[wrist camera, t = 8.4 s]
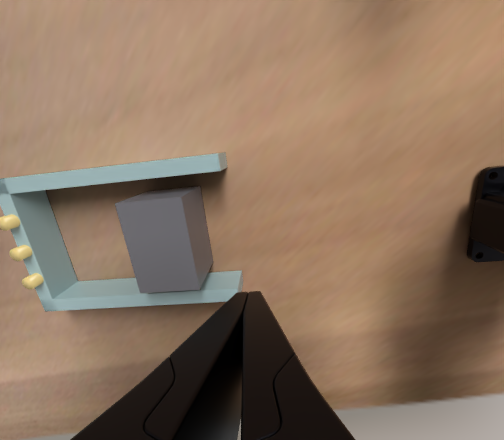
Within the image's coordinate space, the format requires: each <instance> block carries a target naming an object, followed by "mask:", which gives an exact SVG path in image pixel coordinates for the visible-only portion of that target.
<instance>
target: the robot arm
mask: <svg viewBox="0 0 504 440" xmlns="http://www.w3.org/2000/svg"><path fill="white" fill-rule="evenodd" d="M491 172H492V176H491V177H490V178H489V175H490V173H491ZM477 253H478V255H477V256H476V254H477ZM467 256H468V258H469V259H471V260H473V261H475V262H488V261H503V260H504V166H495V167H487V168H485V169H483V170H482V171H481V173H480V175H479V181H478V187H477V194H476V200H475V207H474V213H473V219H472V226H471V232H470V238H469V245H468V251H467ZM240 419H241V440H355V439H354V437H353V436H352V435H351V433H350V432H349V431H348V430H347V428H346V427H345V425H344V424H343V423H342V422H341V420H340V419H339V417H338V416H337V415H336V413H335V412H334V411H333V410H332V408H331V407H330V406H329V404H328V403H327V402H326V400H325V399H324V397H323V396H322V395H321V393H320V392H319V390H318V389H317V388H316V386H315V385H314V383H313V382H312V380H311V379H310V377H309V376H308V374H307V372H306V371H305V369H304V367H303V366H302V364H301V362H300V360H299V359H298V357H297V355H296V354H295V352H294V350H293V348H292V346H291V345H290V343H289V341H288V339H287V338H286V336H285V334H284V332H283V330H282V329H281V327H280V325H279V323H278V322H277V320H276V318H275V316H274V314H273V313H272V311H271V309H270V307H269V306H268V304H267V302H266V300H265V298H264V297H263V295H262V293H261V292H260V291H254V292H249V293H248V292H237V293H235V294H234V295H233V296H232V297H231V298H230V299H229V300H228V301H227V302H226V303H225V304H224V305H223V306H222V307H221V308H220V309H219V310H217V311H216V312H215V313H214V314H213V315H212V316H211V317H210V318H209V319H208V320H207V321H206V322H205V323H204V324H203V325H202V326H201V327H199V328H198V329H197V330H196V331H195V332H194V333H193V334H192V335H191V336H190V337H189V338H188V339H187V340H186V341H185V342H184V343H182V344H181V345H180V346H179V347H178V348H177V349H176V350H175V351H174V352H173V353H172V354H171V355H170V358H169V357H168V358H166V359H165V360H164V361H163V362H162V363H161V364H160V365H159V366H158V367H157V368H156V369H155V370H154V371H152V372H151V373H150V374H149V375H148V376H147V377H146V378H145V379H144V380H142V381H141V382H140V383H139V384H138V385H137V386H135V387H134V388H133V389H132V390H131V391H129V392H128V393H127V394H126V395H125V396H123V397H122V398H121V399H120V400H119V401H117V402H116V403H115V404H114V405H112V406H111V407H110V408H109V409H108V410H106V411H105V412H104V413H103V414H101V415H100V416H99V417H98V418H96V419H95V420H94V421H93V422H91V423H90V424H89V425H88V426H87V427H85V428H84V429H83V430H82V431H80V432H79V433H78V434H77V435H75V436H74V437H73V438H72V439H71V440H237V437H238V431H239V425H240Z"/></svg>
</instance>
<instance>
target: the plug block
mask: <svg viewBox="0 0 504 440" xmlns="http://www.w3.org/2000/svg"><path fill="white" fill-rule="evenodd" d="M115 206H116V210H117V213H118V217H119V220H120V224H121V227H122V231H123V234H124V238H125V242H126V245H127V249H128V252H129V256H130V259H131V263H132V266H133V270H134V273H135V277H136V281H137V284H138V288H139V291H140V293H151V292H169V291H186V290H200V288H201V286H202V284H203V282H204V280H205V278H206V276H207V274H208V272H209V270H210V267H211V265H212V263H213V257H212V251H211V245H210V240H209V234H208V228H207V222H206V216H205V211H204V205H203V199H202V193H201V187H200V186H195V187H185V188H176V189H166V190H156V191H147V192H144V193H142V194H139V195H136V196H134V197H131V198H128V199H126V200H123V201H120V202H118V203H115Z"/></svg>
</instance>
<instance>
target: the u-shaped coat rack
mask: <svg viewBox="0 0 504 440" xmlns="http://www.w3.org/2000/svg"><path fill="white" fill-rule="evenodd" d="M225 168H227V161H226V153H216V154H207V155H199V156H190V157H182V158H173V159H165V160H156V161H147V162H139V163H130V164H122V165H113V166H104V167H96V168H87V169H79V170H70V171H62V172H53V173H44V174H36V175H27V176H19V177H11V178H3V179H0V206H1V208H2V211H3V213H4V215H5V216H3V217H0V229H1V230H4V231H6V230H10V229H11V232H12V234H13V237H14V239H15V241H16V244H17V246H18V247H16V248H14V249H12V250H10V256H11V258H12V259H13V260H15V261H21V260H24V263H25V265H26V267H27V270H28V272H29V274H30V276H28V277H26V278H24V279H23V280H22V284H23V286H24V287H25V288H27V289H33V288H35V289H36V291H37V293H38V296H39V298H40V300H41V303H42V305H43V308H44V310H45V311H62V310H81V309H99V308H117V307H136V306H154V305H173V304H191V303H210V302H227V301H228V300H229V299H230V298H231V297H232V296H233V295H234V294H235V293H237V292H241V291H242V286H243V276H242V270H241V271H226V272H211V273H208V274H207V276H206V278H205V280H204V282H203V284H202V286H201V288H200V290H186V291H169V292H151V293H140V291H139V288H138V284H137V281H136V278H122V279H107V280H92V281H78V280H77V277H76V275H75V272H74V269H73V266H72V264H71V261H70V258H69V255H68V252H67V250H66V247H65V244H64V241H63V239H62V236H61V233H60V230H59V228H58V225H57V222H56V219H55V216H54V214H53V211H52V208H51V205H50V203H49V200H48V197H47V194H46V192H45V190H50V189H59V188H68V187H78V186H87V185H96V184H105V183H114V182H123V181H133V180H142V179H151V178H160V177H169V176H178V175H188V174H197V173H206V172H215V171H221V170H223V169H225Z"/></svg>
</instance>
